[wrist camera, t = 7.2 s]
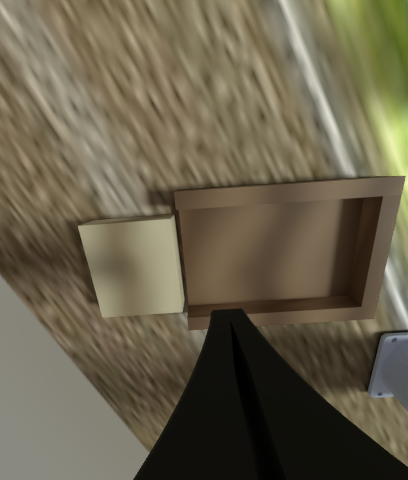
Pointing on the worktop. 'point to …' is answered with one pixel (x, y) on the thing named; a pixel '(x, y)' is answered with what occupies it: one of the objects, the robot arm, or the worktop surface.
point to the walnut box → (288, 249)
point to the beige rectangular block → (134, 265)
